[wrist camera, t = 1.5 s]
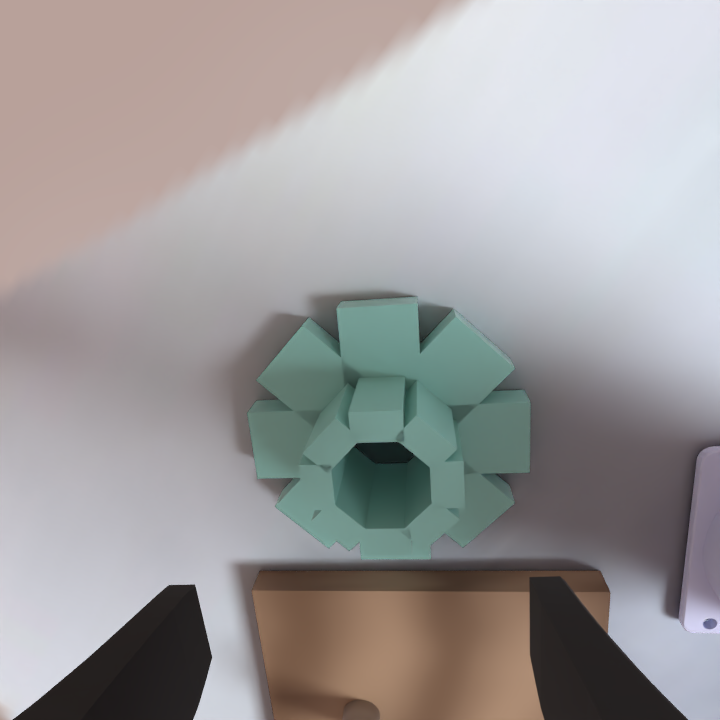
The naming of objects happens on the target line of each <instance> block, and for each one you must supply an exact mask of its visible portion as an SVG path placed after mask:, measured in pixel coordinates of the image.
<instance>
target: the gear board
mask: <svg viewBox="0 0 720 720" xmlns="http://www.w3.org/2000/svg"><path fill="white" fill-rule="evenodd" d="M549 576H560V577H561V578H563V579H564V580H565V581H566V582H567V584H568V585H569V586H570V588H571V589H572V590H573V592H574V593H575V594H576V596H577V597H578V598H579V600H580V601H581V602H582V603H583V605H584V606H585V607H586V608H587V610H588V611H589V612H590V614H591V615H592V616H593V617H594V618H595V620H596V621H597V622H598V623H599V624H600V626H601V627H602V628H603V629H604V630H605V632H606V633H607V634H608V620H609V606H610V590H609V588H608V586H607V584H606V582H605V580H604V578H603V576H602V573H601V571H259V574H258V576H257V579H256V581H255V584H254V586H253V588H252V596H253V601H254V607H255V613H256V619H257V624H258V630H259V636H260V641H261V647H262V653H263V658H264V664H265V670H266V676H267V681H268V687H269V693H270V698H271V704H272V710H273V715H274V720H544V717H543V714H542V710H541V707H540V702H539V697H538V693H537V688H536V683H535V678H534V673H533V668H532V663H531V658H530V589H529V577H549Z"/></svg>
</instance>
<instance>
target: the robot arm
mask: <svg viewBox="0 0 720 720" xmlns="http://www.w3.org/2000/svg"><path fill="white" fill-rule="evenodd" d="M529 589H530V658H531V663H532V668H533V673H534V678H535V683H536V688H537V693H538V697H539V702H540V707H541V710H542V714H543V717H544V720H688V719H687V718H686V717H685V716H684V715H683V714H682V713H681V712H680V711H679V710H678V709H677V708H676V707H675V706H674V705H673V704H672V703H671V702H670V701H669V700H668V699H667V698H666V697H665V696H664V695H663V694H662V693H661V692H660V691H659V690H658V689H657V688H656V687H655V686H654V685H653V684H652V683H651V682H650V681H649V680H648V679H647V678H646V676H645V675H644V674H643V673H642V672H641V671H640V670H639V669H638V668H637V667H636V666H635V665H634V663H633V662H632V661H631V660H630V659H629V658H628V657H627V656H626V654H625V653H624V652H623V651H622V650H621V649H620V648H619V647H618V646H617V644H616V643H615V642H614V641H613V640H612V639H611V638H610V636H609V635H608V634H607V633H606V632H605V630H604V629H603V628H602V627H601V626H600V624H599V623H598V622H597V621H596V620H595V618H594V617H593V616H592V615H591V614H590V612H589V611H588V610H587V608H586V607H585V606H584V605H583V603H582V602H581V601H580V600H579V598H578V597H577V596H576V594H575V593H574V592H573V590H572V589H571V588H570V586H569V585H568V584H567V582H566V581H565V580H564V579H563V578H561V577H560V576H549V577H529ZM710 618H711V619H710ZM706 619H710V620H708V621H705V620H706ZM679 621H680V623H681V625H682V626H683V628H684V629H685V630H686V631H688V632H692V633H720V446H712V447H707V448H705V449H704V450H702V451H701V452H700V453H699V454H698V457H697V462H696V470H695V479H694V488H693V496H692V505H691V514H690V522H689V531H688V540H687V548H686V557H685V566H684V574H683V583H682V592H681V600H680V609H679ZM704 621H705V622H704ZM211 659H212V655H211V651H210V647H209V642H208V638H207V634H206V630H205V625H204V621H203V617H202V612H201V608H200V604H199V600H198V595H197V591H196V587H195V585H169V586H167V587H166V588H165V589H164V590H163V591H162V592H160V593H159V594H158V595H157V596H156V597H155V598H154V599H152V600H151V601H150V602H149V603H148V604H147V605H146V606H145V607H144V608H143V609H142V610H140V611H139V612H138V613H137V614H136V615H135V616H134V617H133V618H132V619H131V620H130V621H128V622H127V623H126V624H125V625H124V626H123V627H122V628H121V629H120V630H119V631H118V632H116V633H115V634H114V635H113V636H112V637H111V638H110V639H109V640H108V641H106V642H105V643H104V644H103V645H102V646H101V647H100V648H99V649H98V650H96V651H95V652H94V653H93V654H92V655H91V656H90V657H89V658H87V659H86V660H85V661H84V662H83V663H82V664H80V665H79V666H78V667H77V668H76V669H74V670H73V671H72V672H71V673H70V674H69V675H67V676H66V677H65V678H64V679H63V680H61V681H60V682H59V683H58V684H57V685H55V686H54V687H53V688H52V689H51V690H49V691H48V692H47V693H46V694H45V695H44V696H42V697H41V698H40V699H39V700H37V701H36V702H35V703H34V704H32V705H31V706H30V707H29V708H27V709H26V710H25V711H23V712H22V713H21V714H20V715H18V716H17V717H16V718H14V719H13V720H193V718H194V716H195V713H196V711H197V708H198V705H199V702H200V698H201V695H202V692H203V688H204V685H205V681H206V678H207V674H208V670H209V667H210V663H211Z"/></svg>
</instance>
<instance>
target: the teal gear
mask: <svg viewBox="0 0 720 720" xmlns="http://www.w3.org/2000/svg"><path fill="white" fill-rule="evenodd" d="M336 310H337V321H338V331H339V341H340V343H339V342H338V341H337V340H335V339H334V338H333V337H332V336H331V335H330V334H328V333H327V332H326V331H325V330H324V329H322V328H321V327H320V326H319V325H318V324H316V323H315V322H314V321H313V320H312V319H310V318H308V319H307V320H306V321H305V322H304V324H303V325H302V326H301V327H300V328H299V330H298V331H297V332H296V333H295V334H294V336H293V337H292V338H291V339H290V340H289V342H288V343H287V344H286V345H285V346H284V347H283V349H282V350H281V351H280V352H279V353H278V355H277V356H276V357H275V358H274V359H273V361H272V362H271V363H270V364H269V365H268V367H267V368H266V369H265V370H264V371H263V373H262V374H261V375H260V376H259V377H258V378H257V380H256V381H257V382H258V383H260V384H261V385H262V386H263V387H264V388H266V389H267V390H268V391H269V392H271V393H272V394H273V395H274V396H276V397H277V398H278V399H279V400H256V402H255V403H254V404H253V406H252V407H251V408H250V410H249V411H248V412H247V416H248V422H249V428H250V435H251V441H252V447H253V454H254V460H255V466H256V472H257V479H267V478H293V479H292V480H291V481H290V482H289V484H288V485H287V486H286V487H285V488H284V489H283V490H282V492H281V494H280V496H279V499H278V501H277V503H276V505H275V507H276V508H277V509H278V510H280V511H281V512H282V513H284V514H285V515H286V516H287V517H289V518H290V519H291V520H293V521H294V522H295V523H296V524H298V525H299V526H300V527H302V528H303V529H304V530H306V531H307V532H308V533H309V534H311V535H312V536H313V537H315V538H316V539H317V540H318V541H320V542H321V543H322V544H324V545H325V546H326V547H327V548H330V547H331V546H332V545H333V544H334V543H335V542H336V541H337V542H338V543H340V544H341V545H342V546H343V547H345V548H346V549H347V550H349V551H350V550H351V549H352V548H353V547H354V546H356V545H357V544H358V543H359V542H360V553H361V559H431V548H430V546H431V545H432V544H433V543H434V542H435V541H436V540H437V539H438V538H440V537H441V536H442V535H443V534H444V533H445V534H447V535H448V536H449V537H450V538H451V539H453V540H454V541H455V542H456V543H458V544H459V545H460V546H461V547H465V546H466V545H467V544H468V543H469V542H470V541H472V540H473V539H474V538H475V537H476V536H477V535H479V534H480V533H481V532H482V531H483V530H484V529H486V528H487V527H488V526H489V525H490V524H491V523H493V522H494V521H495V520H496V519H497V518H498V517H499V516H501V515H502V514H503V513H504V512H505V511H506V510H508V509H509V508H510V507H511V506H512V505H513V504H515V501H514V498H513V495H512V492H511V488H510V486H509V485H508V484H507V483H506V482H505V481H504V480H502V479H501V478H500V477H499V476H498V475H496V474H495V473H530V417H531V402H530V400H529V398H528V396H527V394H526V392H525V390H502V391H493V390H494V389H495V388H496V387H497V386H498V385H499V384H500V383H501V382H502V381H503V380H504V379H505V378H506V377H507V376H508V375H509V374H510V373H511V372H512V371H514V370H515V367H514V365H513V363H512V361H511V360H510V358H509V357H508V356H507V355H506V354H505V353H503V352H502V351H501V350H500V349H499V348H498V347H497V346H496V345H494V344H493V343H492V342H491V341H490V340H489V339H488V338H486V337H485V336H484V335H483V334H482V333H481V332H480V331H478V330H477V329H476V328H475V327H474V326H473V325H472V324H471V323H469V322H468V321H467V320H466V319H465V318H464V317H463V316H461V315H460V314H459V313H458V312H457V311H456V310H455V309H453V310H452V311H451V312H450V313H449V314H448V315H447V316H446V317H445V318H444V319H443V320H442V321H441V322H440V323H439V324H438V326H437V327H436V328H435V329H434V330H433V331H432V332H431V333H430V334H429V335H428V336H427V337H426V338H425V339H424V340H423V341H422V343H421V344H420V336H419V317H418V298H417V296H416V297H400V298H384V299H368V300H352V301H341V302H340V304H339V305H338V307H337V308H336ZM375 442H399V443H401V444H402V445H403V446H404V447H406V448H407V449H408V450H409V451H410V452H412V453H413V454H414V455H415V456H414V457H413V458H412V459H411V460H410V461H409V462H408V463H390V464H375V463H374V462H372V461H371V460H370V459H369V458H368V457H366V456H365V455H364V454H363V453H361V452H360V451H359V450H358V449H356V448H355V447H354V446H355V445H356V444H357V443H375Z"/></svg>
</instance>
